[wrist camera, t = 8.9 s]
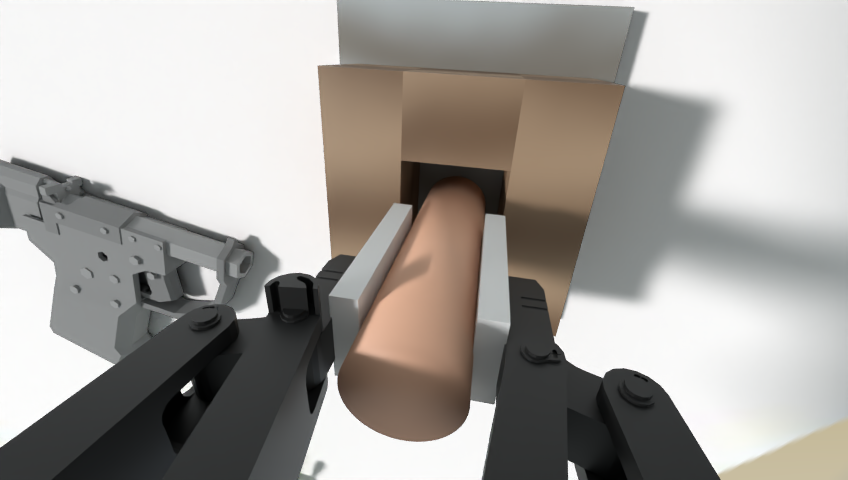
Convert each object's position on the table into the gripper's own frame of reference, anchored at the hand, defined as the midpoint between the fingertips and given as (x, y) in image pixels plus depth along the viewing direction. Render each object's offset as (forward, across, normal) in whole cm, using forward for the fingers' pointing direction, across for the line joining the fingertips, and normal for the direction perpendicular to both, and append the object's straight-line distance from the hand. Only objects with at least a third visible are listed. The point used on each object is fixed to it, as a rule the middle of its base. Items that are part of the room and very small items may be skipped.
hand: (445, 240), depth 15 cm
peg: (+4, 0, 0) cm, 4 cm away
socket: (+8, 0, 0) cm, 8 cm away
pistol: (+9, -26, -11) cm, 30 cm away
